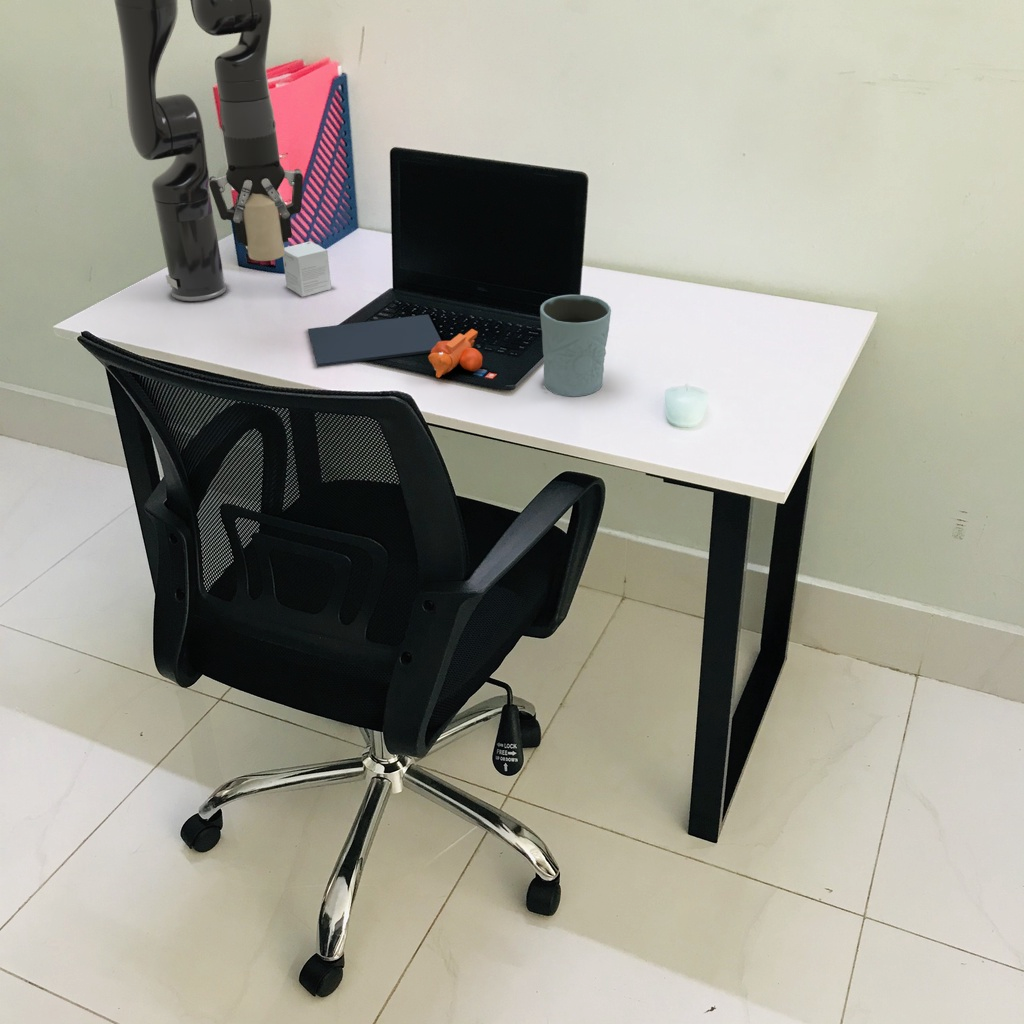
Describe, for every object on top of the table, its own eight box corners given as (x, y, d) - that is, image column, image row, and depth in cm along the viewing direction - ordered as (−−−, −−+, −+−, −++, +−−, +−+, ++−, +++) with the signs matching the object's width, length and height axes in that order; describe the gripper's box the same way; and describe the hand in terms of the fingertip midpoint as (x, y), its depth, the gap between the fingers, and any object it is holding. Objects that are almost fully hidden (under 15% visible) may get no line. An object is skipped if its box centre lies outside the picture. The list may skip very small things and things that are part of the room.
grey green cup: (560, 363, 171) (561, 289, 164) (620, 377, 166) (623, 301, 160) (527, 390, 163) (526, 313, 157) (589, 405, 159) (591, 327, 152)
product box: (285, 287, 199) (280, 247, 195) (316, 279, 202) (311, 240, 198) (302, 297, 195) (296, 257, 191) (332, 289, 198) (328, 249, 194)
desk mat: (308, 331, 183) (308, 328, 183) (428, 317, 187) (428, 314, 187) (317, 366, 171) (317, 363, 171) (445, 350, 175) (445, 347, 175)
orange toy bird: (461, 315, 172) (423, 345, 163) (503, 337, 171) (466, 369, 162) (454, 342, 176) (415, 373, 167) (494, 364, 174) (458, 396, 165)
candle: (276, 262, 169) (268, 196, 163) (242, 260, 170) (232, 195, 164) (290, 249, 173) (282, 185, 168) (257, 247, 174) (247, 183, 169)
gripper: (297, 119, 165) (310, 230, 175) (197, 126, 163) (216, 239, 172) (301, 131, 159) (314, 246, 169) (198, 140, 157) (217, 255, 166)
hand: (265, 242), depth 170 cm, fingers closed on candle, 5 cm apart
